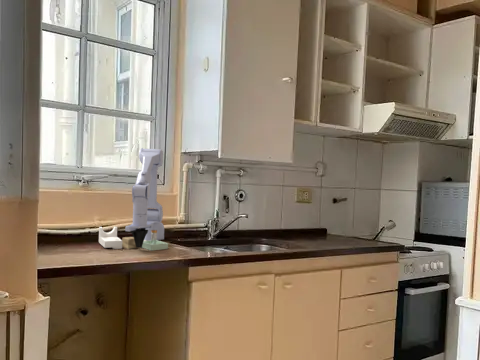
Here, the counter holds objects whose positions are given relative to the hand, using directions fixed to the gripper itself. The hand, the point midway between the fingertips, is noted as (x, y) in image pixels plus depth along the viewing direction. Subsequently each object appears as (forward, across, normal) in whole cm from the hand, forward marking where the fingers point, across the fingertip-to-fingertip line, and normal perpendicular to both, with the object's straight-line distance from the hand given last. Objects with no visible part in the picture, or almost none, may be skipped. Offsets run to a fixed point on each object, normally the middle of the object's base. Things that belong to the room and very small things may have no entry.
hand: (138, 247), depth 188 cm
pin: (+1, -8, +1) cm, 8 cm away
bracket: (+2, +1, -15) cm, 15 cm away
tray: (+1, -8, +1) cm, 8 cm away
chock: (+1, -2, -7) cm, 7 cm away
